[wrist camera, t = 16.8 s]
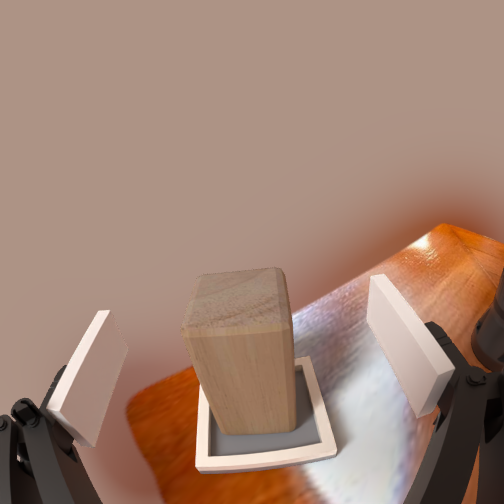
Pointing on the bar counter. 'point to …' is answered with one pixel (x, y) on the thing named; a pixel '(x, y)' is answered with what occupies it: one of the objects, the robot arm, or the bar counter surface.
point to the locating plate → (269, 445)
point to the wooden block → (244, 349)
